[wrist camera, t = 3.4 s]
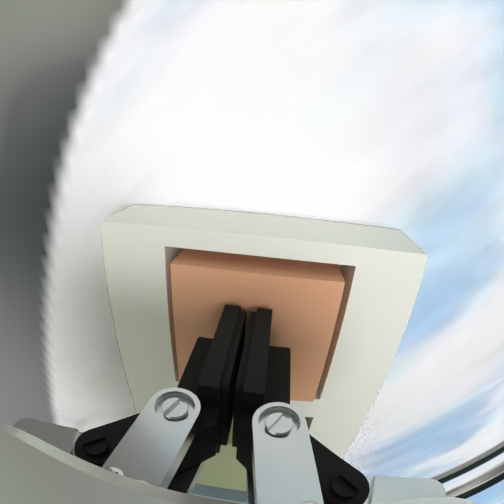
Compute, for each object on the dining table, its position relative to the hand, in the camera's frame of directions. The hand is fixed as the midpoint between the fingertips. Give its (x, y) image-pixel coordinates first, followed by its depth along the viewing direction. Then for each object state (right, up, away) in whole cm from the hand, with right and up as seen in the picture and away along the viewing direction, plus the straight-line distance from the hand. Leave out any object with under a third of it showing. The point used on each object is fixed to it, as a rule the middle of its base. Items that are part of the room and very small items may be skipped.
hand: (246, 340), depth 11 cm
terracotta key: (0, +1, +2) cm, 2 cm away
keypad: (0, -6, +6) cm, 9 cm away
